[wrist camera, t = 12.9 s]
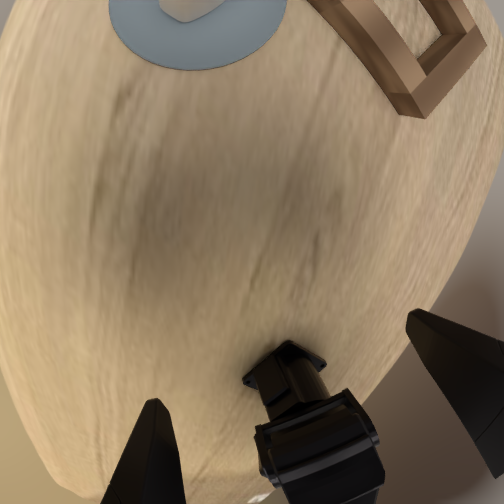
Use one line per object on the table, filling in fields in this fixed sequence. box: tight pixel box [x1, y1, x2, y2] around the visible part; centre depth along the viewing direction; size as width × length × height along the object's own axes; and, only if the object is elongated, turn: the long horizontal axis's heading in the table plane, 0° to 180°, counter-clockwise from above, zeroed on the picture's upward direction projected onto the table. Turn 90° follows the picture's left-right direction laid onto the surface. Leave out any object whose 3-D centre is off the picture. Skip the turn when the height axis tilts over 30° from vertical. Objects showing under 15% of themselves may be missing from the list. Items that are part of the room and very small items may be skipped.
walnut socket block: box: [307, 0, 487, 119], centre depth 14 cm, size 12×12×3 cm
